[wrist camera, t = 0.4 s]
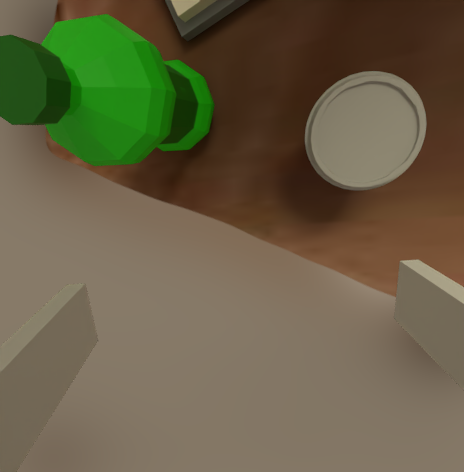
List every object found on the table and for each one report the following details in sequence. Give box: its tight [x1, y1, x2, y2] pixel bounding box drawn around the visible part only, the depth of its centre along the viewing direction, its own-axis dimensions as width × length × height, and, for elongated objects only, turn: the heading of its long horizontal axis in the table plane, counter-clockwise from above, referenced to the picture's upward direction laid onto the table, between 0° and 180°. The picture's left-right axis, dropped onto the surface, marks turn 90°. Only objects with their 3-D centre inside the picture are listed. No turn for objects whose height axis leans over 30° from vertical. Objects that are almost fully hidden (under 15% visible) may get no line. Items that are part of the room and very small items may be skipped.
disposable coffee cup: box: [305, 71, 426, 191], centre depth 31 cm, size 10×10×12 cm
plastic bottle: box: [0, 14, 215, 166], centre depth 28 cm, size 10×10×25 cm
